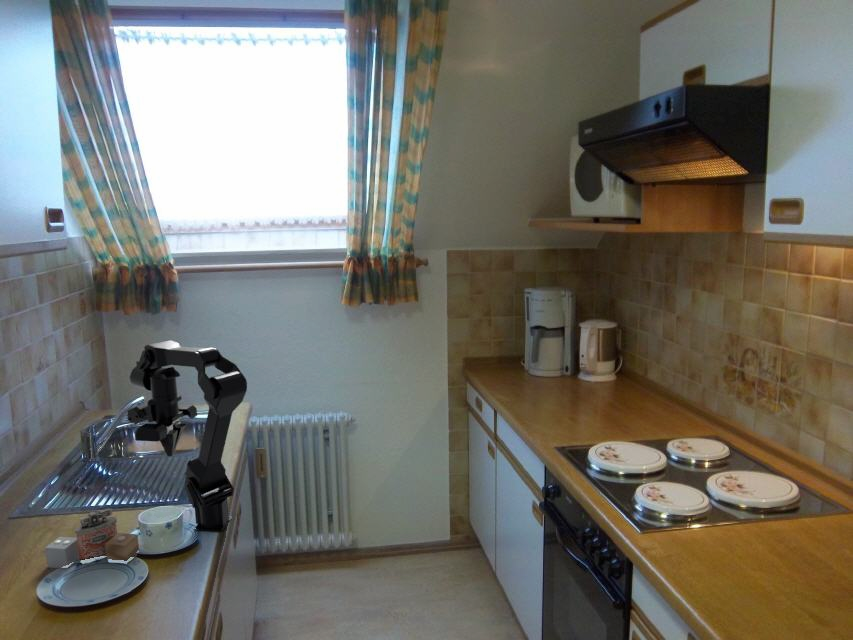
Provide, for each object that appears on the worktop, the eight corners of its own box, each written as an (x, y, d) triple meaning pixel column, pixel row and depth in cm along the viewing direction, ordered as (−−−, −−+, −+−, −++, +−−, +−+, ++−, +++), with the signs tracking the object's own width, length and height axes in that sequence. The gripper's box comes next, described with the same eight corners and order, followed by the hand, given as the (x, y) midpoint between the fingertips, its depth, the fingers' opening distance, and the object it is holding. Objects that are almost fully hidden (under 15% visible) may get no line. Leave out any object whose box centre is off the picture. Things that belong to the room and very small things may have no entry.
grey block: (81, 557, 144) (78, 537, 143) (67, 569, 140) (64, 548, 139) (62, 556, 145) (59, 535, 144) (47, 567, 140) (44, 546, 140)
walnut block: (139, 553, 145) (137, 533, 144) (127, 565, 141) (124, 544, 140) (120, 552, 146) (117, 532, 145) (107, 563, 142) (104, 542, 141)
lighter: (81, 566, 140) (75, 521, 139) (77, 559, 143) (71, 515, 141) (122, 553, 146) (117, 509, 144) (117, 546, 148) (112, 504, 146)
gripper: (154, 382, 172) (159, 440, 175) (109, 405, 154) (116, 469, 157) (195, 383, 170) (200, 442, 173) (155, 406, 152) (161, 472, 155)
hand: (170, 455), depth 164 cm, fingers closed
